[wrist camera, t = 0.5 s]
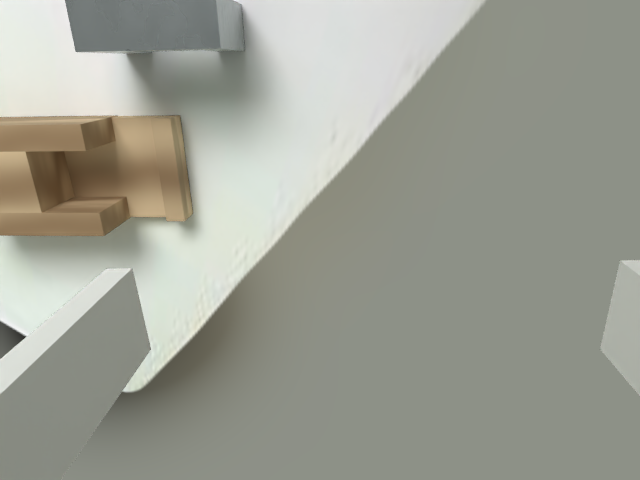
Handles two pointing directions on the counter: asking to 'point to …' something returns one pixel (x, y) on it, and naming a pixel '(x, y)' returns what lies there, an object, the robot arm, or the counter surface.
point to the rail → (90, 173)
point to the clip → (155, 25)
